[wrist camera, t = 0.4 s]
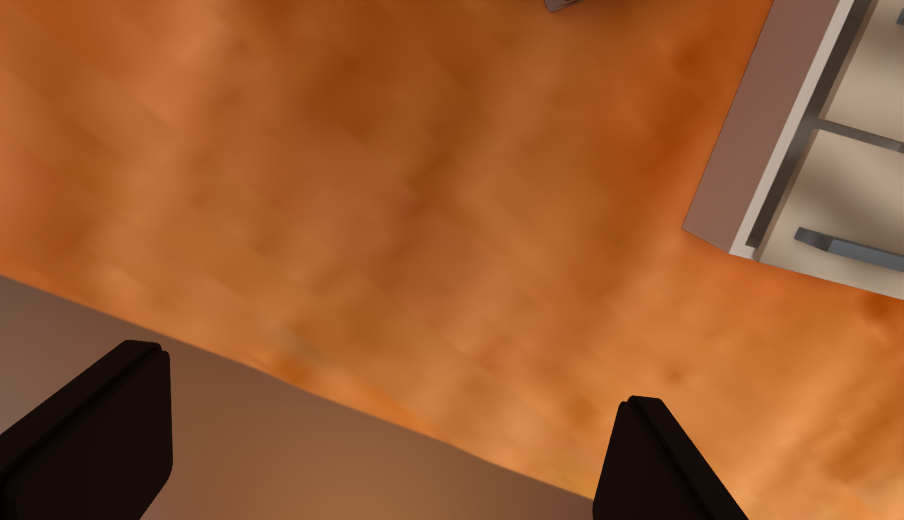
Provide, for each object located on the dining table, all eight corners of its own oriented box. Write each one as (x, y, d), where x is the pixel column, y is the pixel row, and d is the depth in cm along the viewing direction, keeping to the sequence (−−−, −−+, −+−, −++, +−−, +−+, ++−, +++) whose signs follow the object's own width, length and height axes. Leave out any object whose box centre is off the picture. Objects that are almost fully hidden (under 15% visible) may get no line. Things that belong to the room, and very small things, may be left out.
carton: (781, -18, 36) (859, -45, 29) (959, 38, 37) (1073, 25, 30) (681, 228, 41) (728, 254, 34) (840, 270, 42) (915, 303, 35)
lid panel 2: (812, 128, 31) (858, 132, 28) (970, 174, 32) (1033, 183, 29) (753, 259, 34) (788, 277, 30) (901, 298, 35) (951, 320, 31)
